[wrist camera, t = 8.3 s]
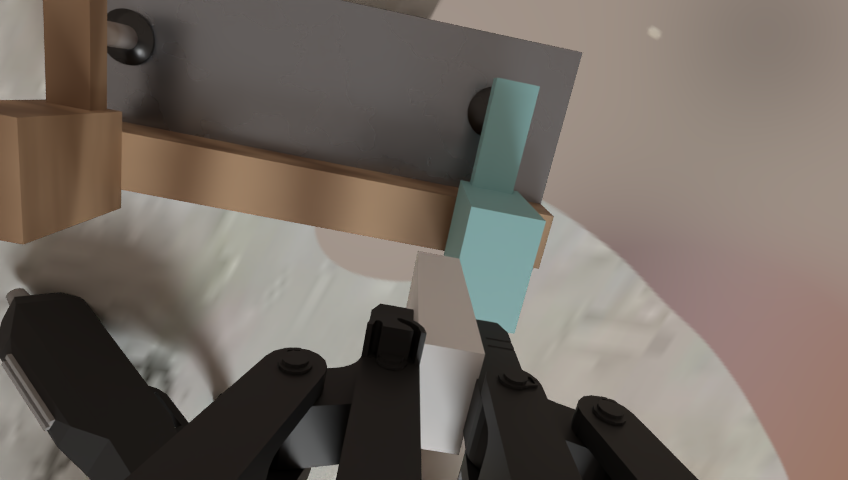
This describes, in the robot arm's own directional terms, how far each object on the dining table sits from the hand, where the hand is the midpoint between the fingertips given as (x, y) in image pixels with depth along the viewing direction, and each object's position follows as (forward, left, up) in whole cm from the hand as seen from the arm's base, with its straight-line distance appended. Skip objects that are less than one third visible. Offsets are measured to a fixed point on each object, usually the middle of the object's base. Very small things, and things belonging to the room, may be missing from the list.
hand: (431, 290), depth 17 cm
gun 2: (-18, -14, -13) cm, 26 cm away
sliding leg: (+3, +3, -12) cm, 12 cm away
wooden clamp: (-7, +3, -12) cm, 14 cm away
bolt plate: (-7, +4, -13) cm, 15 cm away
